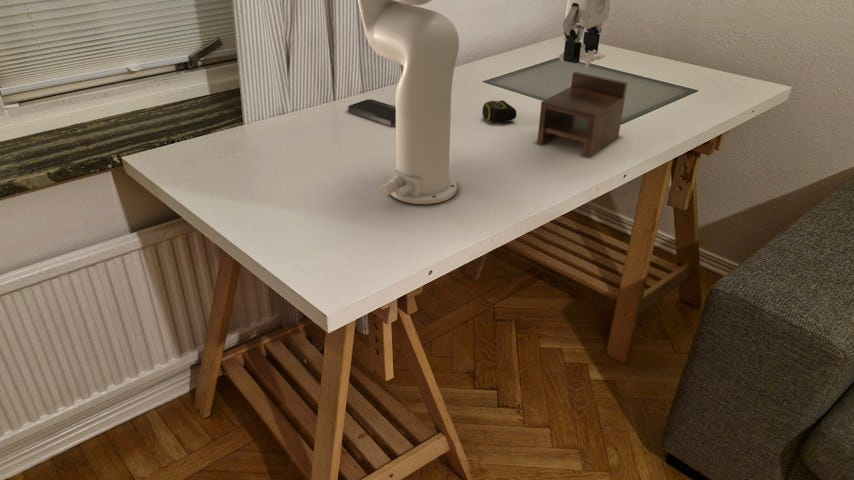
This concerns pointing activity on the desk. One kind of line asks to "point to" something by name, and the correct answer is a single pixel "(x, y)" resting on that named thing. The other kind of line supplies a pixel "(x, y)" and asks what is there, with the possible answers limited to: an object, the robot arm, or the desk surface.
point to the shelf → (584, 112)
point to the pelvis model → (585, 56)
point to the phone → (375, 111)
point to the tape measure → (498, 111)
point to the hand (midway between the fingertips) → (580, 56)
